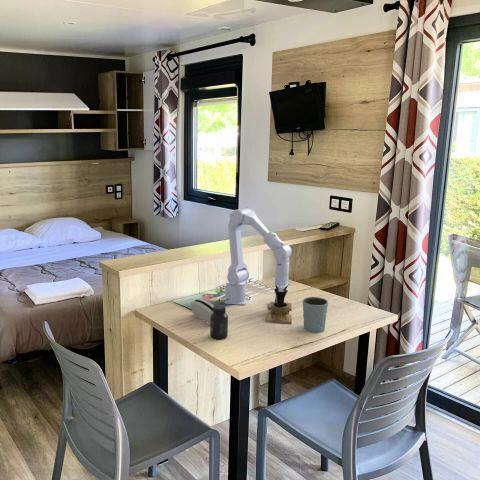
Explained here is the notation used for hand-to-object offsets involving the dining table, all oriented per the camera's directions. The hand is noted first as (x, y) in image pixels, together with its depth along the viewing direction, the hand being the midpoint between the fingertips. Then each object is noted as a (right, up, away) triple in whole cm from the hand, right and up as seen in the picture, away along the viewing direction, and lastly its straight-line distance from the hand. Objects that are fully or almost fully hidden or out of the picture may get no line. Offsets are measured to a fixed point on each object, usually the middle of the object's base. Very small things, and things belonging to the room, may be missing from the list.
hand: (280, 302), depth 215 cm
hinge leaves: (0, -5, +1) cm, 5 cm away
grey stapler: (-32, -7, -9) cm, 34 cm away
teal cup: (+12, -9, -15) cm, 21 cm away
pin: (-1, -2, 0) cm, 2 cm away
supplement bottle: (-26, -10, -25) cm, 37 cm away
